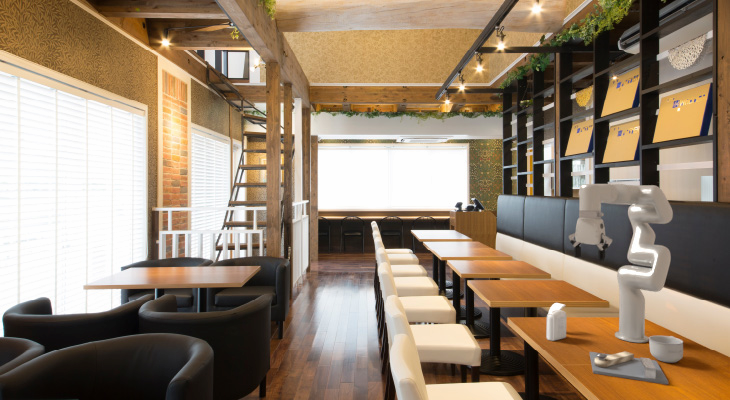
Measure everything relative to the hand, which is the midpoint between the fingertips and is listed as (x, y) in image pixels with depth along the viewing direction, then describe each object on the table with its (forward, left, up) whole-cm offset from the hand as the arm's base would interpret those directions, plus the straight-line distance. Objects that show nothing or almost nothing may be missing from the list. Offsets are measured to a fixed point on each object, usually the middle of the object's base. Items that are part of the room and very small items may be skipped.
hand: (589, 258), depth 173 cm
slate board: (+12, +11, -37) cm, 41 cm away
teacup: (-5, +27, -38) cm, 47 cm away
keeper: (+16, +17, -37) cm, 44 cm away
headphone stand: (-25, -12, -38) cm, 46 cm away
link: (+11, +8, -36) cm, 38 cm away
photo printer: (-13, -12, -38) cm, 41 cm away
